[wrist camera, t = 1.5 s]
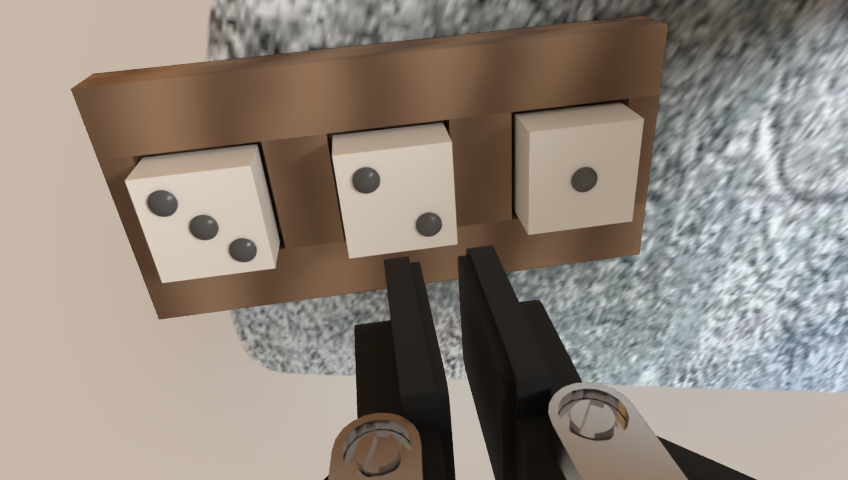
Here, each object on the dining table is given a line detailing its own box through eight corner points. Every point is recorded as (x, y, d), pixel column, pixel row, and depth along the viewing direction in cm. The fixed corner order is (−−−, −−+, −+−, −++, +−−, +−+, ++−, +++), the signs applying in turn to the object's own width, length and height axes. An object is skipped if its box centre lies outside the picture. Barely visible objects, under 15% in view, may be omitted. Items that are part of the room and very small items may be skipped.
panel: (642, 15, 33) (668, 24, 30) (620, 231, 40) (639, 254, 37) (93, 73, 31) (71, 89, 28) (171, 291, 38) (159, 319, 35)
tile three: (257, 144, 31) (250, 166, 29) (280, 241, 34) (275, 269, 32) (142, 157, 31) (123, 181, 28) (175, 254, 34) (161, 284, 31)
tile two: (442, 122, 32) (452, 142, 29) (448, 219, 35) (458, 245, 32) (332, 135, 32) (332, 157, 29) (348, 232, 35) (349, 260, 32)
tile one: (619, 101, 33) (645, 119, 30) (611, 198, 36) (633, 222, 33) (514, 114, 32) (530, 133, 30) (514, 210, 35) (529, 236, 33)
